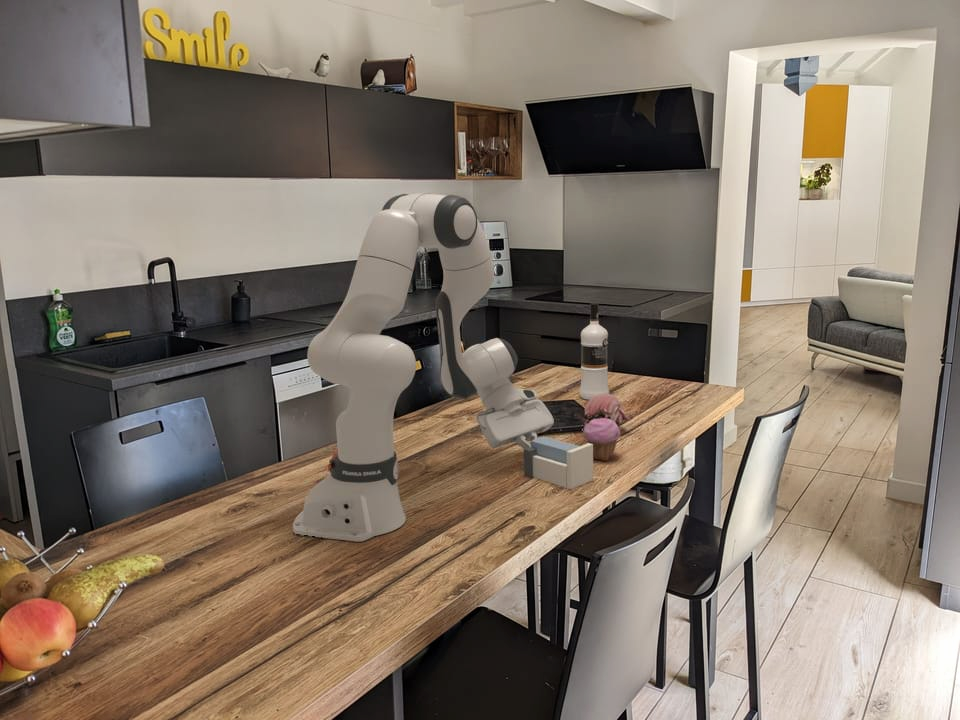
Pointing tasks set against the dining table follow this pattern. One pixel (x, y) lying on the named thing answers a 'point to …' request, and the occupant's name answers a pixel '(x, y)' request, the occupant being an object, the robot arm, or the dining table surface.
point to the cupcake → (602, 437)
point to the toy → (604, 409)
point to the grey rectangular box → (552, 448)
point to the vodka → (594, 357)
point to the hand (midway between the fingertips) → (535, 452)
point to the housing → (561, 467)
